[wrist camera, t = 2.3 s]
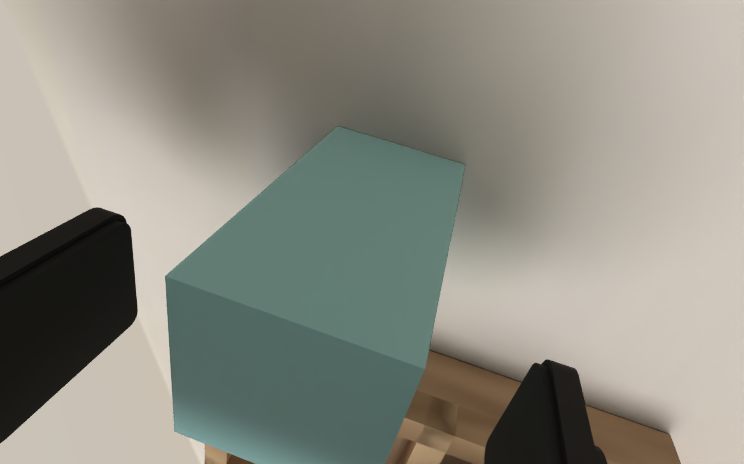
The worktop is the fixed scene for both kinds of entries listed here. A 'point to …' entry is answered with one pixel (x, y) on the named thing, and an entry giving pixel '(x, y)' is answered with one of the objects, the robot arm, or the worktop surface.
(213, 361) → the teal rectangular block
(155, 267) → the worktop surface
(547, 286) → the worktop surface
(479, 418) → the divided wooden tray
